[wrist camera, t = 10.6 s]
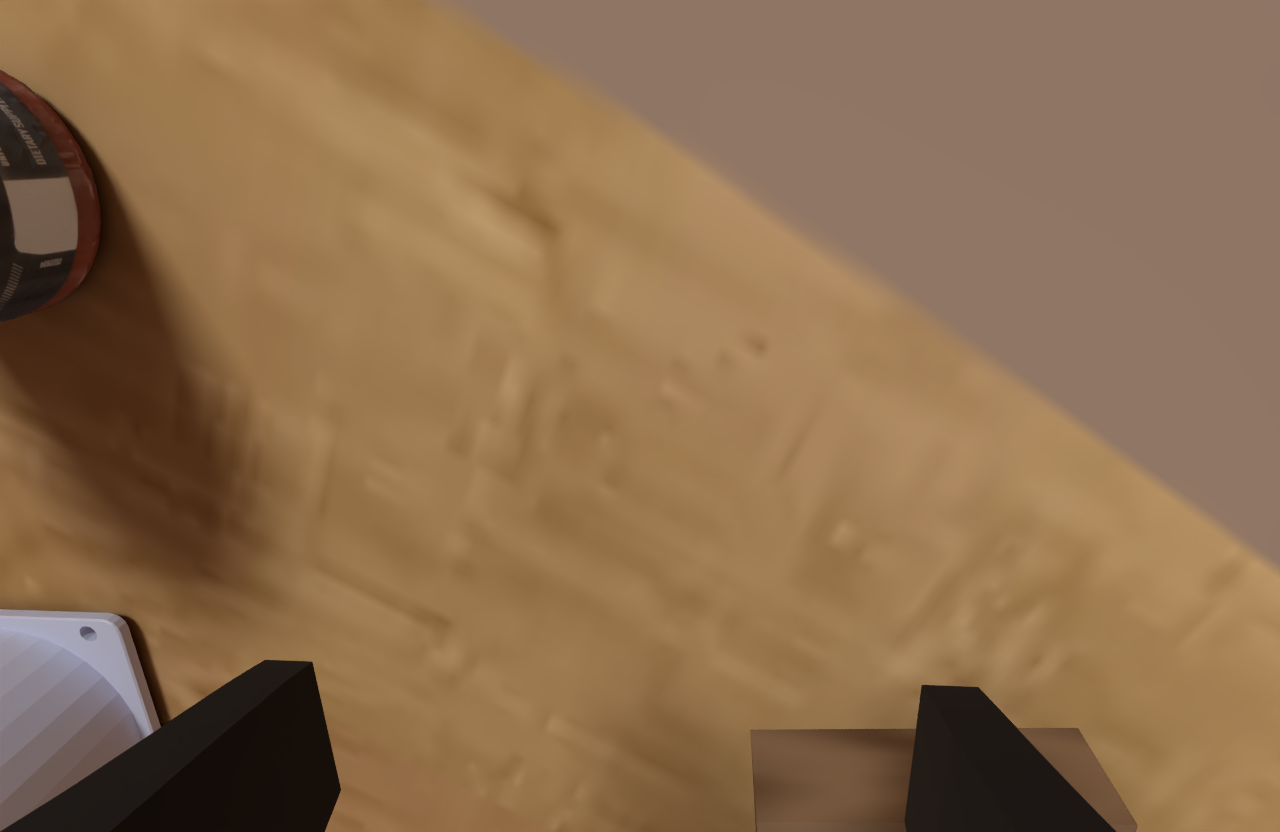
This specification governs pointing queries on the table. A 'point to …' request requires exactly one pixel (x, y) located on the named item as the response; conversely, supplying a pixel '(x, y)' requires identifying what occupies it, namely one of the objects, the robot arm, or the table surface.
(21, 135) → the supplement bottle
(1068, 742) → the walnut block
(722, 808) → the table surface
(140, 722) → the robot arm
